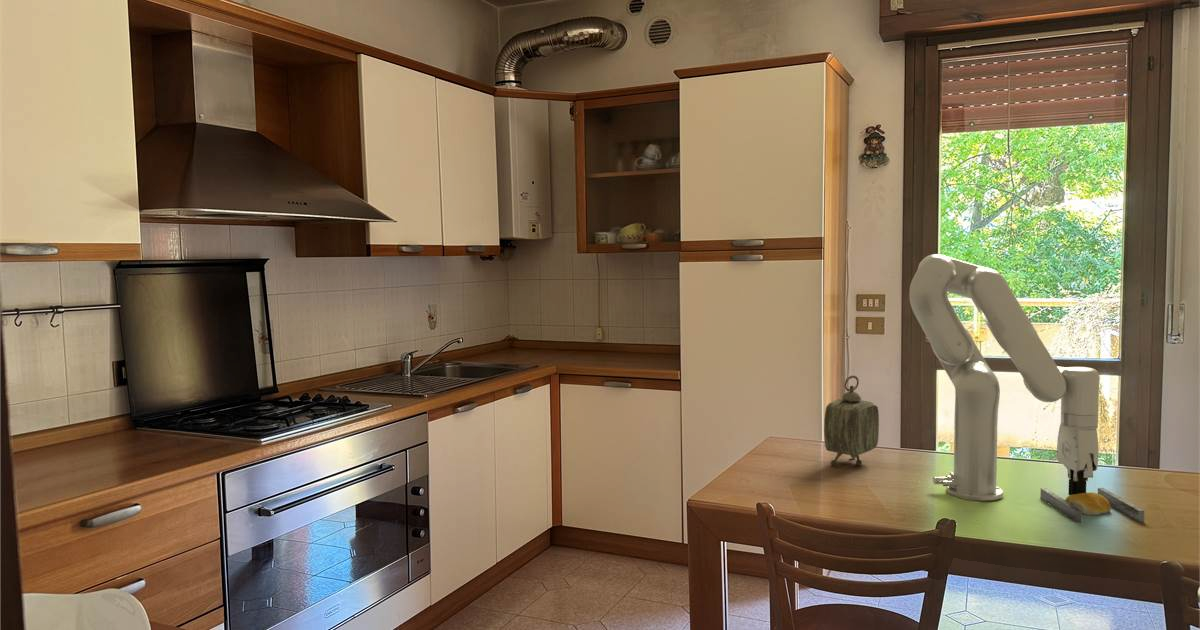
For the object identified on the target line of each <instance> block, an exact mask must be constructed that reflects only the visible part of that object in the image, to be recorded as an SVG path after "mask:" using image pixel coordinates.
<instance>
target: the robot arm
mask: <svg viewBox="0 0 1200 630" xmlns="http://www.w3.org/2000/svg"><path fill="white" fill-rule="evenodd" d="M948 293H949V294H953V295H956V296H961V297H965V298H966V299H967V298H968V299H971V301H972V302H973V303H974V306H975V307H976V309H977V310H978V312H979V314H980V315H981V318H982V319H983V320H984V322H985V324H986V326H987V327H988V329H989V331H990V332H991V335H992V336H993V337H994V339H995V340H996V342H997V344H998V345H999V346H1000V347H1001V349H1003V351H1005V353H1006V354H1007V355H1008V356H1009V358H1010V359H1011V361H1012V363H1013V364H1014V365H1015V367H1016V370H1018V372H1019V373H1020V375H1021V377H1022V379H1023V384H1024V386H1025V388H1026V389H1027V390H1028V391H1029V393H1030V394H1031V395H1032V396H1033V397H1034V398H1035V399H1037V400H1039V401H1041V402H1042V403H1043V402H1044V403H1054V402H1057V401H1059V400H1060V424H1059V427H1058V434H1057V441H1056V443H1057V444H1056V453H1055V454H1056V455H1055V456H1056V457H1055V458H1056V460H1057V462H1058V463H1059V464H1061V465H1062V466H1064V467H1065V468H1066V469H1067V477H1068V496H1069V495H1073V494H1079V493H1087V482H1088V481H1089V478H1094V472H1095V471H1097V470H1098V468H1099V438H1098V430H1097V429H1098V427H1099V402H1100V401H1099V399H1100V397H1099V396H1100V374H1099V371H1098V370H1096V369H1095V368H1092V367H1087V366H1068V367H1067V366H1065V367H1064V366H1058V365H1057V363H1056V362H1055V360H1054V359H1053V357H1052V355H1051V354H1050V352H1049V350H1048V349H1047V347H1046V346H1045V344H1044V343H1043V341H1042V339H1041V338H1040V336H1039V335H1038V333H1037V330H1036V329H1035V327H1034V325H1033V324H1032V322H1031V320H1030V319H1029V317H1028V315H1027V314H1026V312H1025V311H1024V309H1023V307H1022V305H1021V304H1020V303H1019V301H1018V299H1017V297H1016V296H1015V294H1014V293H1013V290H1012V289H1011V287H1010V286H1009V283H1008V282H1007V281H1006V279H1005V278H1004V276H1003V275H1002V273H1000V272H999V271H998V270H995V269H993V268H989V267H986V266H981V265H977V264H973V263H970V262H967V261H964V260H959V259H956V258H953V257H950V256H948V255H947V256H946V255H943V254H938V253H935V254H934V253H933V254H929V255H927V256H925V257H924V258H923V259H922V260H920V262H919V264H918V266H917V270H916V272H915V274H914V275H913V278H912V279H911V283H910V285H909V293H908V294H909V303H910V306H911V310H912V312H913V314H914V316H915V317H916V320H917V322H918V323H919V325H920V327H921V329H922V331H923V333H924V334H925V336H926V338H927V341H928V342H929V343H930V346H931V349H932V351H933V353H934V355H935V356H936V358H937V359H938V361H939V362H940V364H941V367H943V369H944V371H945V373H946V374H947V377H948V378H949V380H950V381H951V383H952V385H953V387H954V390H955V391H954V393H955V396H954V397H955V398H954V399H955V400H954V418H953V419H954V422H953V423H954V425H953V430H954V435H953V438H954V439H953V441H954V442H953V447H954V448H953V471H949V474H948V475H946V476H933V477H932V481H933V482H932V483H933V485H941V486H942V487H946V491H947V493H949V494H950V495H952V496H954V497H955V498H961V499H965V500H968V501H969V500H971V501H979V502H980V501H981V502H982V501H983V502H986V501H988V502H989V501H997V500H1000V499H1001V498H1003V496H1004V490H1003V489H1002V488H1001V487H999V486H997V471H998V470H997V467H998V466H997V463H998V462H997V461H998V423H999V422H998V420H999V419H998V418H999V417H998V415H999V405H1000V394H1001V390H1000V383H999V379H998V377H997V376H996V374H995V373H994V372H993V370H992V369H991V368H990V366H989V364H988V363H987V361H986V360H985V358H984V356H983V355H982V353H981V351H980V349H979V348H978V346H977V345H976V343H975V340H974V338H973V336H972V334H971V333H970V332H969V330H968V329H967V328H966V327H965V326H964V325H963V323H962V321H961V320H960V318H959V316H958V315H957V313H956V311H955V309H954V307H953V305H952V304H951V301H950V300H949V297H948Z"/></svg>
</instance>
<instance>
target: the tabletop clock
mask: <svg viewBox="0 0 1200 630" xmlns="http://www.w3.org/2000/svg"><path fill="white" fill-rule="evenodd" d="M851 379H855V380H856V384H855V386H853V385H850V386H849V388H848V387H847V384H848V382H849V380H851ZM859 384H860V383H859V378H858V377H857V376H856V375H849V376H848V377H847V378H846V379H845V382H844V389H845V391H847V392H845V393H844V394H843V395H842V398H838V399H836V400H833V401H831V402H829V403H828V404H827V405H826V407H825V412H824V419H823V420H824V422H823V423H824V425H823V432H824V433H823V435H824V436H823V437H824V445H825V447H824V448H825V450H826V451H828V452H832V453H836V456H835V458H834V459H833V460H831V461H830V466H832V467H836V466H837V461H838V460H839V458H840V457H841V456H842V455H847V456H850V458H852V459H855V458H856V461H855V464H856V466H858V467H859V466H861V465H862V464H863V461H862V460H861V459H860V456H859V455H863V454H865V453H868V452H870V451H872V450H874V449H876V448H877V446H878V443H879V437H880V436H879V433H880V431H879V430H880V429H879V428H880V420H879V419H880V418H879V417H880V416H879V407H878V406H877V405H876V404H874V402H872V401H867V400H862V397H861V395H860V394H859V393H858V392H856V391H855V390H856V389H857V388H858V387H859Z"/></svg>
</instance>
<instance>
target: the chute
mask: <svg viewBox="0 0 1200 630" xmlns="http://www.w3.org/2000/svg"><path fill="white" fill-rule="evenodd" d="M1097 494H1100V495H1102V496H1103V497H1105V498H1106V499H1107V500H1108V501H1109V503H1110V506H1111V508H1113V509H1115V510H1117V511H1119V512H1121V513H1123V514H1125V515H1126V516H1127V517H1129V518H1131V519H1132V520H1135V521H1136V522H1137V523H1140V522H1141V523H1142V522H1145V510H1144V509H1142V508H1140V507H1139V506H1137V505H1135V504H1133V503H1132V502H1129V501H1128V500H1126V499H1124V498H1122V497H1120V496H1119V495H1117V494H1115V493H1113V492H1112V491H1110V490H1108V489H1106V488H1104V487H1098V488H1097ZM1039 497H1040V500H1042V501H1043V502H1045V503H1046V504H1048V503H1049V504H1048V505H1050V506H1051V507H1053V508H1054V509H1055V510H1057V511H1058V512H1060V513H1062V514H1063V515H1065V516H1066V517H1067V518H1069V519H1071V520H1072V521H1074V522H1075V523H1082V515H1083V514H1082V511H1081V510H1080V509H1078V508H1076V507H1075V506H1073V505H1072V504H1070V503H1069V502H1067V501H1065V499H1064V498H1062V497H1060V496H1059V495H1057V494H1056V493H1054V492H1053V491H1051V490H1050V489H1048V488H1046V487H1041V488H1040V496H1039Z"/></svg>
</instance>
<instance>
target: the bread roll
mask: <svg viewBox="0 0 1200 630" xmlns="http://www.w3.org/2000/svg"><path fill="white" fill-rule="evenodd" d="M1064 500H1065V501H1067V502H1069V503H1070V504H1072V505H1073V506H1075V507H1076V508H1078V509H1080V510H1081V511H1082V515H1085V516H1098V515H1101V514H1108V513H1109V512H1110V511H1111V509H1112V506H1110V503H1109V501H1108V500H1107V499H1106V498H1105V497H1103V496H1102V495H1100V494H1098V492H1097V493H1096V492H1086V493H1079V494H1073V495H1069V494H1068V496H1067V497H1066V498H1065V499H1064Z"/></svg>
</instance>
